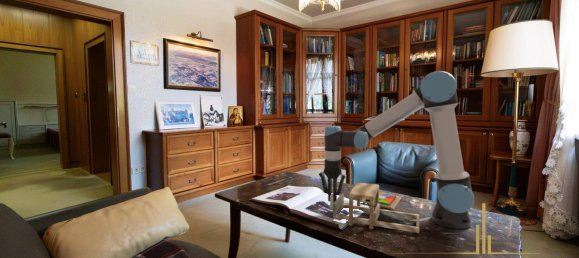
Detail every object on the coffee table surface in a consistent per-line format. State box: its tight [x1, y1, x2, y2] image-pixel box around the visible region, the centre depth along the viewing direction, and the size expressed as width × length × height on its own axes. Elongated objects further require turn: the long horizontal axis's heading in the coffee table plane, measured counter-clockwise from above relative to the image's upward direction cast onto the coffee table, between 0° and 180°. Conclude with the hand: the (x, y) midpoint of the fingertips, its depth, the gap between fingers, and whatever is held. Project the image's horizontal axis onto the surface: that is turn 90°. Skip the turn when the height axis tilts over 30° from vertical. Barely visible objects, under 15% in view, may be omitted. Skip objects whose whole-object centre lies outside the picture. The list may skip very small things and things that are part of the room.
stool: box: [348, 182, 380, 230], centre depth 126 cm, size 10×18×14 cm, turn 155°
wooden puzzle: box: [360, 191, 403, 211], centre depth 149 cm, size 18×19×4 cm
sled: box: [332, 193, 420, 234], centre depth 124 cm, size 35×15×7 cm, turn 65°
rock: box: [377, 212, 408, 225], centre depth 121 cm, size 9×11×6 cm
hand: (332, 208), depth 132 cm, fingers closed
